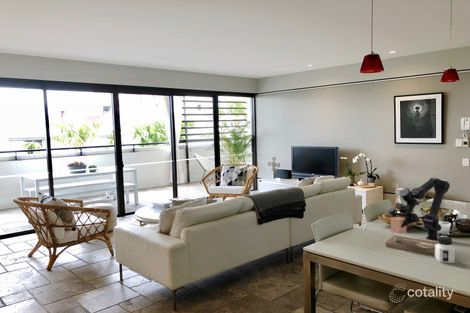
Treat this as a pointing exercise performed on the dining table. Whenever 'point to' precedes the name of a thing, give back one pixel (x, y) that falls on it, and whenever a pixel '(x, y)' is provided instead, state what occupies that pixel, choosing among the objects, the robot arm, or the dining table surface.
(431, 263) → the dining table surface
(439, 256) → the container
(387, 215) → the wooden bowl
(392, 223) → the peach colored cube
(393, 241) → the walnut board
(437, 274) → the dining table surface
